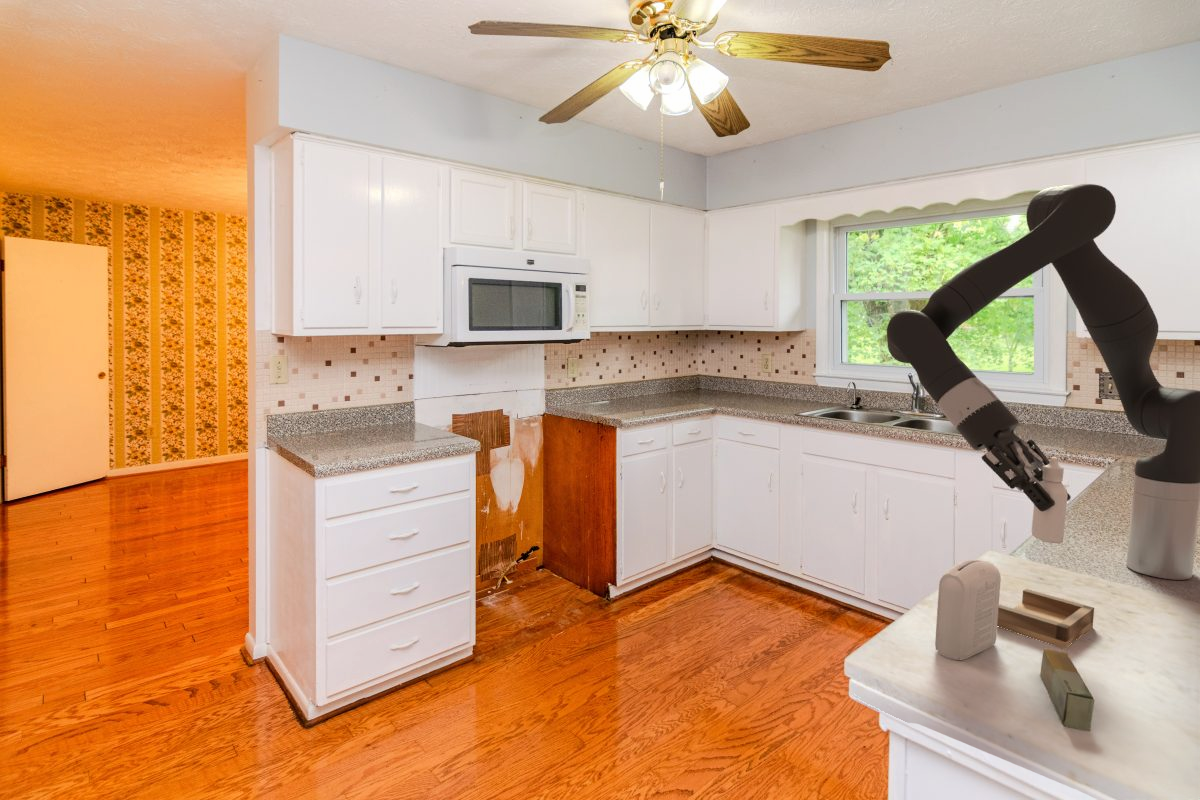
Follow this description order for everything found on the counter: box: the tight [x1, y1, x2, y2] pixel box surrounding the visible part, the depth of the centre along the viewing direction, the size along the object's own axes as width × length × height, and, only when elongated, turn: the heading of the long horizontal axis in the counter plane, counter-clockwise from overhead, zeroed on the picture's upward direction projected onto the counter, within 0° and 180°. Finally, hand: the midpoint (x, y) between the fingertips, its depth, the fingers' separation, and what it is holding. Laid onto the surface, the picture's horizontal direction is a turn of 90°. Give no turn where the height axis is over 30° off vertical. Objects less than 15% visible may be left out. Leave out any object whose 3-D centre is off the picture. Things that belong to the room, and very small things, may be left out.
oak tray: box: [997, 588, 1095, 650], centre depth 99 cm, size 11×9×3 cm
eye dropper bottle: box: [1031, 456, 1068, 544], centre depth 97 cm, size 4×6×12 cm
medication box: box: [1039, 648, 1095, 732], centre depth 79 cm, size 12×3×4 cm, turn 158°
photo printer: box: [934, 558, 1002, 661], centre depth 91 cm, size 10×4×12 cm, turn 123°
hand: (1056, 504), depth 97 cm, fingers closed on eye dropper bottle, 5 cm apart
